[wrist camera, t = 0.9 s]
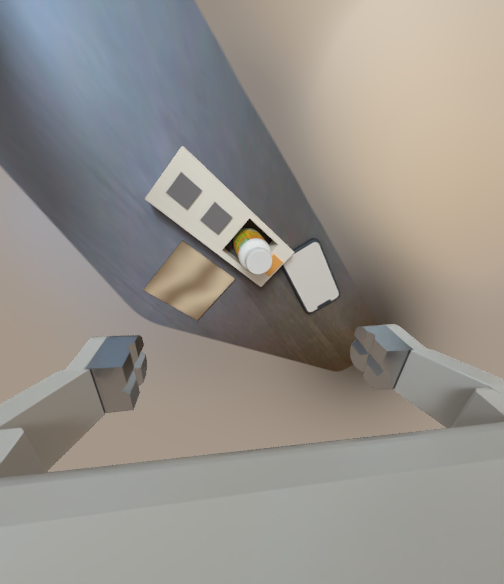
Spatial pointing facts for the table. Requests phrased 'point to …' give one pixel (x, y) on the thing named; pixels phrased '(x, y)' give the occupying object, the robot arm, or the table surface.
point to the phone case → (311, 276)
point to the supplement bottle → (252, 251)
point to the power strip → (210, 211)
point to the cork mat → (189, 281)
